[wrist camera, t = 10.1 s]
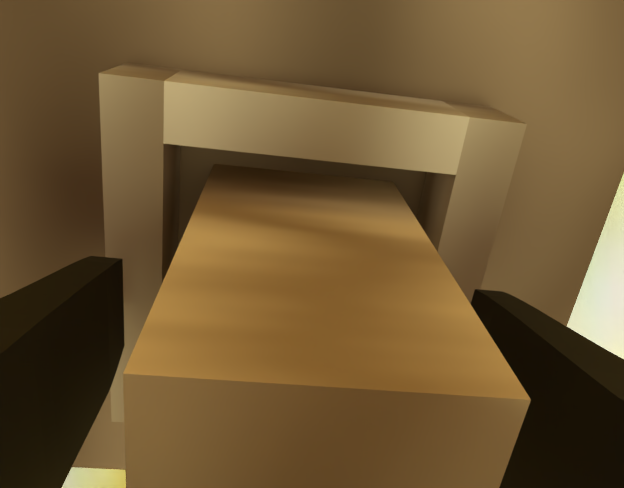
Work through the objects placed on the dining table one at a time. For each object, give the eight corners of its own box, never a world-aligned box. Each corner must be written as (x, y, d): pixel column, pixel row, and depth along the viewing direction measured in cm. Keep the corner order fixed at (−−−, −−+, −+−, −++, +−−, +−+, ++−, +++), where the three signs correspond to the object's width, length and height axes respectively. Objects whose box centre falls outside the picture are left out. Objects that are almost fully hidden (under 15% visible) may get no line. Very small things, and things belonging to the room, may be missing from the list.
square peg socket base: (21, 439, 17) (-28, 521, 14) (-55, -162, 11) (-170, -219, 8) (495, 464, 19) (531, 543, 16) (675, -48, 12) (788, -64, 10)
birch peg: (207, 319, 14) (130, 635, 7) (214, 163, 13) (122, 373, 5) (364, 331, 15) (443, 641, 8) (392, 182, 13) (530, 399, 6)
